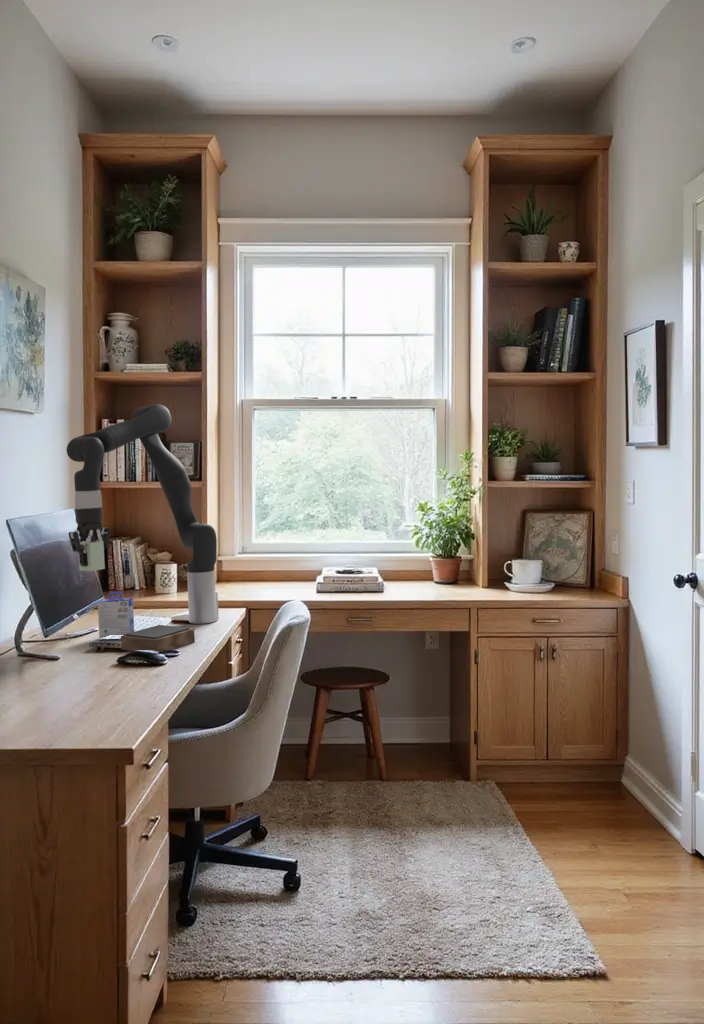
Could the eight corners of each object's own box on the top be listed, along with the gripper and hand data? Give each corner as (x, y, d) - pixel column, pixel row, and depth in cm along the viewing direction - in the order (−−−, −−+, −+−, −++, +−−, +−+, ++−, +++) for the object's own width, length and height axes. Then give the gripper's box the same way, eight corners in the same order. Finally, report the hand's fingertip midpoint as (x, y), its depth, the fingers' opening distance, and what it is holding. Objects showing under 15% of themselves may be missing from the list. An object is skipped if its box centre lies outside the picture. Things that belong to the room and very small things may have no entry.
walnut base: (159, 638, 254) (159, 623, 253) (194, 642, 247) (194, 627, 246) (121, 649, 240) (120, 634, 240) (157, 654, 233) (156, 638, 233)
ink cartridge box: (135, 635, 259) (133, 590, 258) (131, 639, 253) (129, 593, 252) (103, 637, 258) (101, 591, 258) (99, 641, 253) (96, 594, 252)
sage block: (92, 568, 243) (91, 541, 242) (104, 568, 240) (103, 541, 240) (79, 570, 238) (77, 542, 238) (91, 571, 236) (89, 543, 235)
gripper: (98, 504, 246) (101, 561, 247) (59, 508, 234) (63, 567, 235) (116, 504, 242) (119, 562, 243) (78, 508, 230) (81, 568, 231)
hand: (91, 564), depth 239 cm, fingers closed on sage block, 5 cm apart
